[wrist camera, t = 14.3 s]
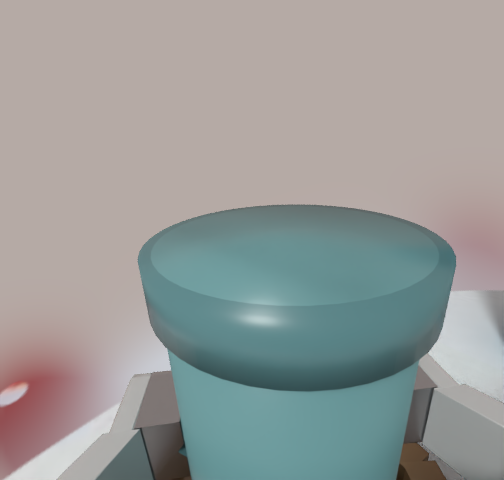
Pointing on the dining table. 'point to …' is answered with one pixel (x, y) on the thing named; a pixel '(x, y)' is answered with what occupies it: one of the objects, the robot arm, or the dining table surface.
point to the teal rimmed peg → (295, 336)
